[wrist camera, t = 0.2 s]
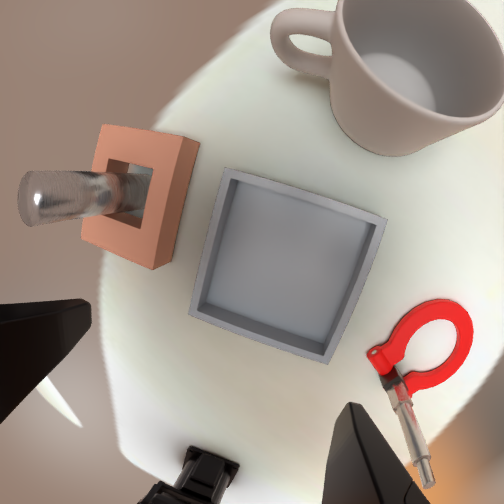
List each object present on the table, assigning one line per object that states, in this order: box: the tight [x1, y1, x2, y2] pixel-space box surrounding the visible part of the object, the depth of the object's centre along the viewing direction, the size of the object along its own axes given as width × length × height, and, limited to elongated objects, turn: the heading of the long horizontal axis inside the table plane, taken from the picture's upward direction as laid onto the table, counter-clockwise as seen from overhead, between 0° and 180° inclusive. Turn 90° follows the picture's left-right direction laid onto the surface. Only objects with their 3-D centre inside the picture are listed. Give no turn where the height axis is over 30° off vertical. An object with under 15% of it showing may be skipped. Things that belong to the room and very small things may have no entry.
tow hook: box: [367, 299, 474, 489], centre depth 15 cm, size 8×13×9 cm
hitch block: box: [81, 124, 200, 270], centre depth 22 cm, size 10×8×3 cm
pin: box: [18, 171, 152, 226], centre depth 18 cm, size 3×3×12 cm
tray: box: [188, 167, 388, 365], centre depth 21 cm, size 11×11×2 cm
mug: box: [270, 0, 504, 156], centre depth 13 cm, size 12×8×11 cm
